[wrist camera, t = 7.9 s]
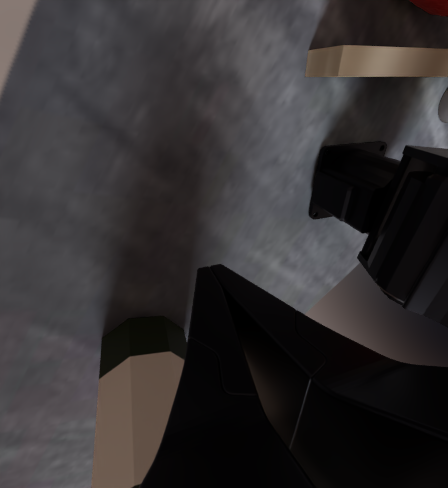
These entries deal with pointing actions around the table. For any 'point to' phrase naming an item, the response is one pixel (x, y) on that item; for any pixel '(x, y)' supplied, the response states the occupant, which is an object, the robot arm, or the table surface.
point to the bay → (380, 64)
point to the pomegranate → (433, 6)
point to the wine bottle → (135, 398)
